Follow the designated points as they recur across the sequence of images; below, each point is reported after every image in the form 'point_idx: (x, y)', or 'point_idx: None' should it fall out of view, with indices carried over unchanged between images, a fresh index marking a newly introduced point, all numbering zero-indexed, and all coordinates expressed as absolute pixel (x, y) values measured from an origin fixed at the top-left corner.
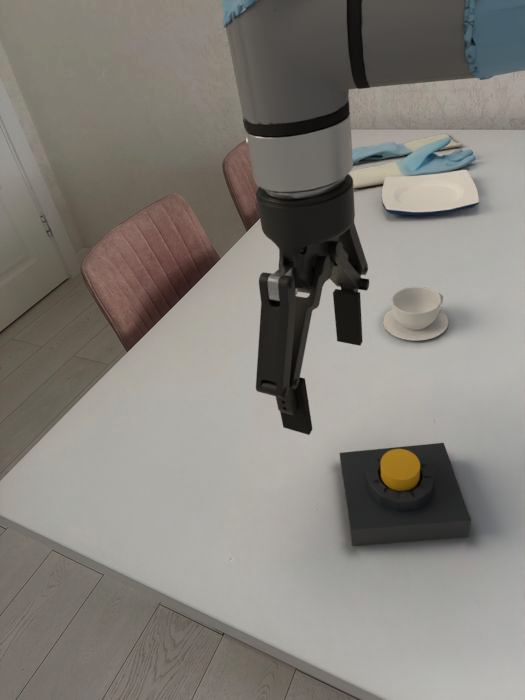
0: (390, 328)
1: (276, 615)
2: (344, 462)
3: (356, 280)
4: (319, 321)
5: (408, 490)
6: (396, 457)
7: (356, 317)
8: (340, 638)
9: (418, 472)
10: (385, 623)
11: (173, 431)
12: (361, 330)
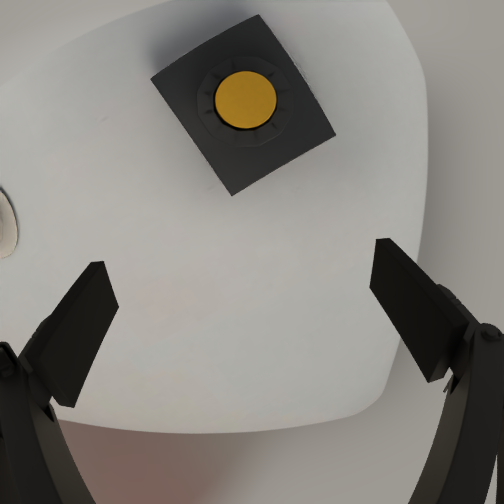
0: (11, 242)
1: (410, 176)
2: (244, 182)
3: (14, 397)
4: None
5: None
6: (236, 108)
7: (71, 313)
8: (407, 115)
9: (248, 71)
10: (381, 80)
11: (268, 367)
12: (79, 279)
